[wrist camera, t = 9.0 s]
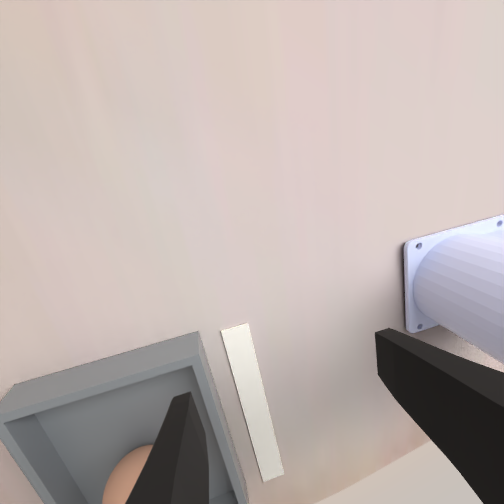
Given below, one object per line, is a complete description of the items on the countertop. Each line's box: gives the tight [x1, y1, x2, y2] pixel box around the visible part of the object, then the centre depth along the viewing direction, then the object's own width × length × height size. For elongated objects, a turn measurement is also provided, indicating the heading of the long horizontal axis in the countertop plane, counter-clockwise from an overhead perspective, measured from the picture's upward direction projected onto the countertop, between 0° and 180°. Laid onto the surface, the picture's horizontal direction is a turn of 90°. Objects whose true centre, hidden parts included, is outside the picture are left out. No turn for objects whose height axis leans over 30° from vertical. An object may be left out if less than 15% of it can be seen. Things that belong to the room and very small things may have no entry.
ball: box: [102, 445, 153, 504], centre depth 18 cm, size 5×5×5 cm
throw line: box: [221, 323, 284, 482], centre depth 22 cm, size 2×16×1 cm, turn 12°
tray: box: [0, 331, 249, 504], centre depth 20 cm, size 12×16×3 cm
